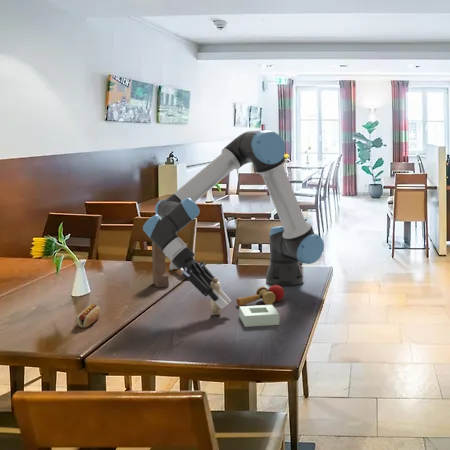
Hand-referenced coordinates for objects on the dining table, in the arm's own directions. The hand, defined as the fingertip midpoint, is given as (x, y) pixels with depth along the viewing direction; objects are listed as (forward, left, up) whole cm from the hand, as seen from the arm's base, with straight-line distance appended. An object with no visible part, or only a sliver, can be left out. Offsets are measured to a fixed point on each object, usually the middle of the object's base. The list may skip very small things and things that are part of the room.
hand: (226, 304), depth 205 cm
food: (+45, -2, -4) cm, 45 cm away
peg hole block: (-10, +5, -4) cm, 11 cm away
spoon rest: (+9, -66, -4) cm, 67 cm away
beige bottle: (+3, -2, -3) cm, 5 cm away
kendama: (-14, -13, -4) cm, 20 cm away
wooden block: (+20, -48, -4) cm, 52 cm away
